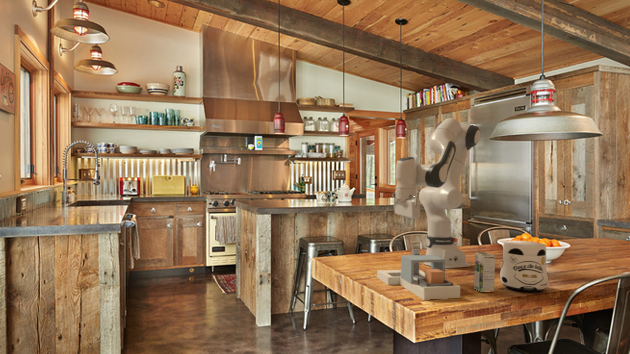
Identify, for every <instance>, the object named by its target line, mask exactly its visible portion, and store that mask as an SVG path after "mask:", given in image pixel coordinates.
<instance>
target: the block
mask: <svg viewBox="0 0 630 354" xmlns="http://www.w3.org/2000/svg"><path fill="white" fill-rule="evenodd" d="M424 272H425V281H426V282H427V283H444V272H443V271H441V270H439V269H431V268H425V270H424Z"/></svg>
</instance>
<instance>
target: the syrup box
mask: <svg viewBox="0 0 630 354" xmlns="http://www.w3.org/2000/svg"><path fill="white" fill-rule="evenodd" d="M474 256H475V257H474V275H473V276H474V277H473V279H474V282H473V288H474V290H475V289H476V290H475V291H477V290H478V291H477V292H479V291H480V292H485V291H494V292H495V274H496V273H495V272H496V255H494V254H491V253H489V252H479V251H478V252H475V253H474ZM480 292H479V293H480Z"/></svg>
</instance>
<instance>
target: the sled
mask: <svg viewBox="0 0 630 354" xmlns="http://www.w3.org/2000/svg"><path fill="white" fill-rule="evenodd" d="M410 255H421V253H420V249H419V248H411V249H410ZM419 270H420V263H414V276H415V277H416V278H418V284H419V285H420V286H422V287H434V286H454V282H452V281H450V280H447V279H446V278H445V279H444V283H427V282H426V281H425V277H424V276H422V275H420V274H419Z"/></svg>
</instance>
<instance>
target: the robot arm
mask: <svg viewBox="0 0 630 354" xmlns="http://www.w3.org/2000/svg"><path fill="white" fill-rule="evenodd" d="M480 139H481V129H480V128H479V126H477V125H474V124H468V123H465V122H460V121H459V120H457V119H456V118H453V117H448V118H446V119H443V120H442V121H440V122H438V123H437V125H436V126H435V129H434V130H433V132H432V133H431V135H430V137H429V141H428V142H429V146H430V148H431V150H432V151H433V152H434V153H436V154H438V155H439V159H438V160H437V162H434V163H431V164H421V163H418V162H417V161H416V158H415V157H413V156H406V157H401V158H399V159H397V161H396V166H395V180H396V185H395V189H396V190H395V191H394V192H393V193H392V198H393V211H394V215H398V216H401V219H402V222H403V226H404V227H406V228H410V227H411V221H412V219H420V218H421V205H422V206H423V209H424V210H425V214H426V219H427V235H426V251H425V252H426V253H425V255H435V256H438V257H440V258H443V259H445V269H454V268H455V269H456V268H465V267H466V268H468V267H472V266H471V263H470V262H468V261H467V258H466V254H465V253H464V251H463V250H462V249H460V248H459V247H458V246H457V245H455V243H458V241H459V239H458V238H457V237H452V236H451V235H452V233H451V229H452V227H451V226H452V225H451V224H452V222H451V220H450V217H448V215H447V213H446V211H445V210H453V209H457V208H459V207H460V206H461V204H462V203H463V194H462V192H461V191H460V185H459V184H460V179H461V174H462V172H463V169H464V167H465V165H466V161H467V157H468V151H470V150H471V149H472V148H474V147H475V146H476V145H477V144H478V143H479V141H480ZM418 187H423V188H421V189H420V191H419V193H418ZM420 203H421V205H420ZM423 264H424V265H426V266H430V267H431V262H425V263H423Z"/></svg>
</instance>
